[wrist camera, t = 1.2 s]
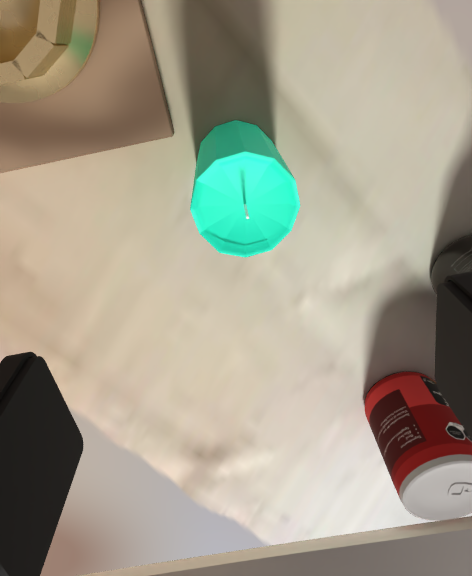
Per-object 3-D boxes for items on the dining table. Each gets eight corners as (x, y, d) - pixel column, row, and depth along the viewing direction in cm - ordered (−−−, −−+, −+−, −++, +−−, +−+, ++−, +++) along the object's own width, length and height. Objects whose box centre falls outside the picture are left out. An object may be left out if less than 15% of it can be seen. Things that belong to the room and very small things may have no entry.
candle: (251, 103, 31) (270, 133, 21) (290, 175, 34) (325, 235, 23) (180, 148, 32) (165, 199, 22) (223, 215, 35) (228, 288, 24)
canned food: (440, 415, 47) (499, 511, 37) (366, 431, 48) (405, 530, 38) (438, 360, 43) (502, 451, 34) (357, 379, 44) (398, 473, 34)
